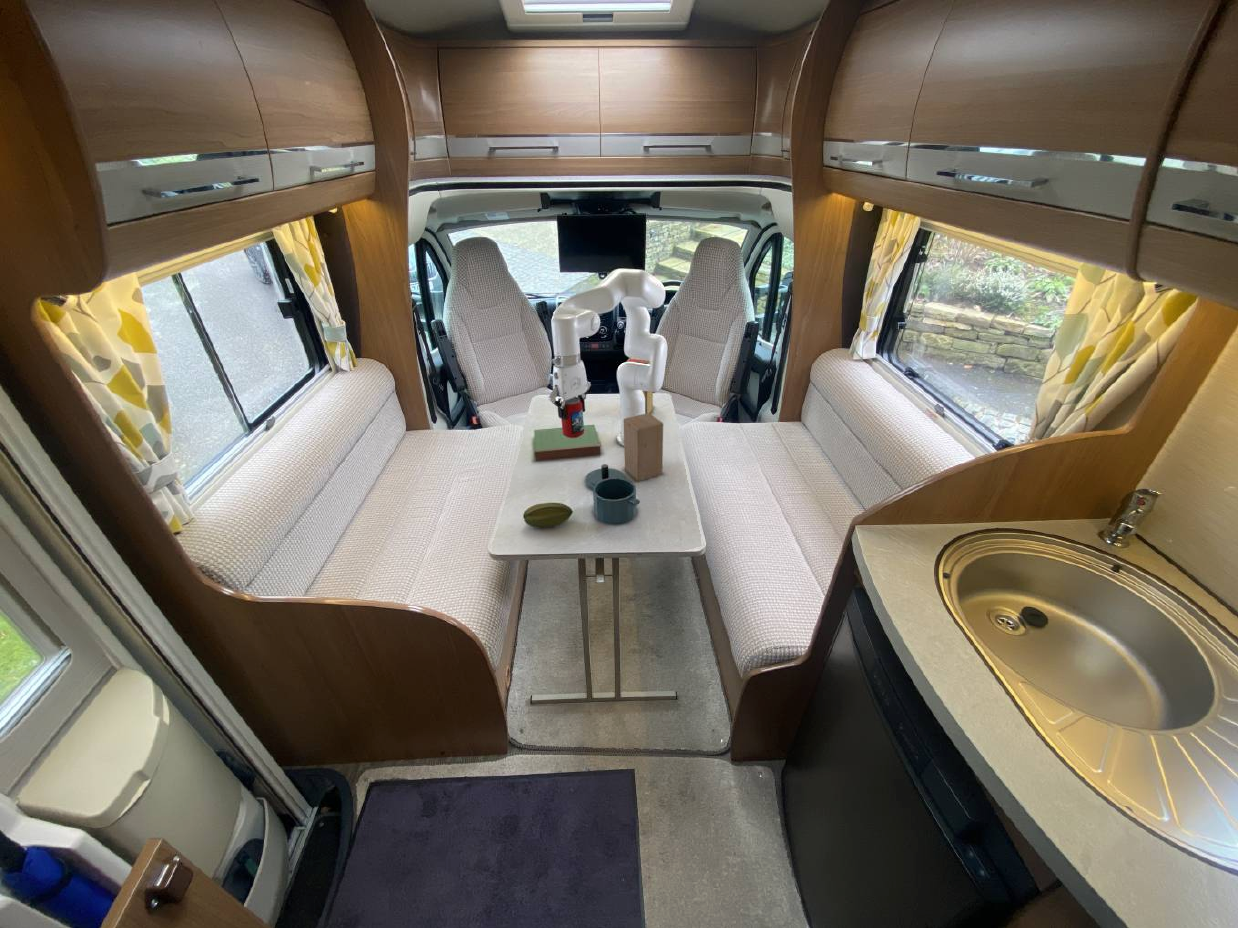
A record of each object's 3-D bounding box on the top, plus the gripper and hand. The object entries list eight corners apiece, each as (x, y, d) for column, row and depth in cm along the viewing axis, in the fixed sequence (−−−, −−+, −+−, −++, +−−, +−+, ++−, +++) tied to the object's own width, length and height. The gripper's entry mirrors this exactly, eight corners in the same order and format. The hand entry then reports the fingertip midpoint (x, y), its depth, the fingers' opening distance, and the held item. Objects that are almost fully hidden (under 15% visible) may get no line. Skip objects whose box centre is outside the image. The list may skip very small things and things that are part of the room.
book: (535, 460, 185) (534, 452, 183) (535, 438, 201) (534, 430, 199) (602, 454, 188) (602, 445, 186) (596, 432, 204) (596, 424, 202)
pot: (608, 492, 165) (607, 470, 161) (651, 513, 154) (651, 490, 150) (580, 509, 157) (578, 486, 153) (622, 533, 146) (622, 509, 142)
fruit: (548, 508, 158) (546, 490, 155) (575, 522, 151) (574, 504, 148) (520, 525, 151) (518, 507, 147) (548, 541, 144) (546, 522, 141)
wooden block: (637, 482, 170) (637, 429, 160) (624, 469, 178) (623, 418, 168) (662, 474, 174) (663, 423, 164) (648, 462, 182) (648, 412, 172)
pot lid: (605, 466, 180) (604, 452, 177) (633, 480, 172) (633, 464, 169) (577, 482, 171) (575, 467, 168) (605, 496, 163) (605, 481, 160)
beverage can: (580, 440, 154) (578, 404, 148) (560, 438, 155) (556, 403, 149) (586, 430, 159) (584, 396, 153) (566, 429, 161) (563, 394, 155)
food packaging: (633, 405, 227) (633, 351, 215) (653, 406, 225) (654, 353, 212) (626, 417, 216) (625, 361, 204) (647, 419, 214) (647, 363, 201)
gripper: (552, 369, 137) (558, 427, 146) (597, 354, 148) (600, 409, 157) (535, 363, 142) (542, 420, 151) (580, 349, 152) (584, 403, 161)
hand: (572, 414), depth 154 cm, fingers closed on beverage can, 6 cm apart
